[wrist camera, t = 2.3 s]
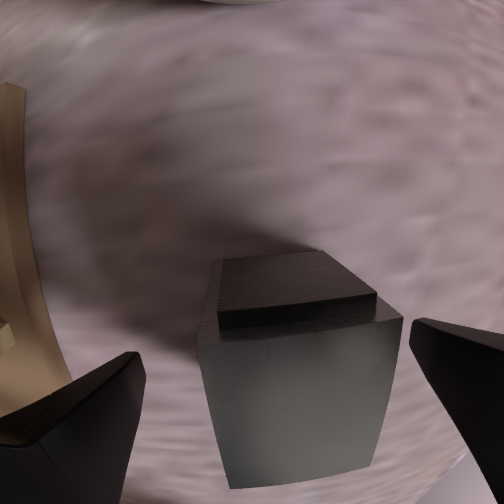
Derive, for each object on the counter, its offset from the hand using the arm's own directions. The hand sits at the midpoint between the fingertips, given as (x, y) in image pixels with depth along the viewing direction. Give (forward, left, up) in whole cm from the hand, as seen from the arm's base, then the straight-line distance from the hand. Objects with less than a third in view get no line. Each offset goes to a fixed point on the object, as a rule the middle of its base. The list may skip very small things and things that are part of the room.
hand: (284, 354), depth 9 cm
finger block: (0, 0, -3) cm, 3 cm away
